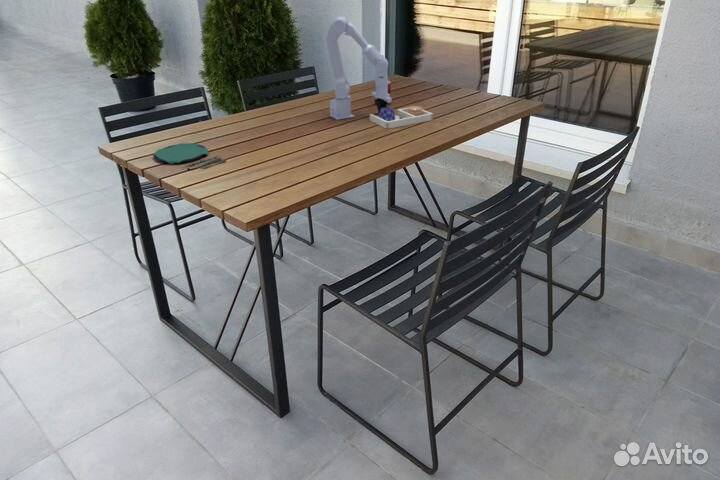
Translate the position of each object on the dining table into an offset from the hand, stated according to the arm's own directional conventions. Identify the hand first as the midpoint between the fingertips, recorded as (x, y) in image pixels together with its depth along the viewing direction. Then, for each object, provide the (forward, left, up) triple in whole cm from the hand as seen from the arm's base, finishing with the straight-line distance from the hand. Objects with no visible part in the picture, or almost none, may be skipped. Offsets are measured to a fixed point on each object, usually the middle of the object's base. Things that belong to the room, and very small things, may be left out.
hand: (381, 114), depth 258 cm
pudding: (0, -5, -1) cm, 5 cm away
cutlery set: (-93, -9, -2) cm, 94 cm away
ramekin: (+12, -10, -1) cm, 16 cm away
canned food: (+13, +20, -1) cm, 24 cm away
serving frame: (+5, -10, -1) cm, 11 cm away
